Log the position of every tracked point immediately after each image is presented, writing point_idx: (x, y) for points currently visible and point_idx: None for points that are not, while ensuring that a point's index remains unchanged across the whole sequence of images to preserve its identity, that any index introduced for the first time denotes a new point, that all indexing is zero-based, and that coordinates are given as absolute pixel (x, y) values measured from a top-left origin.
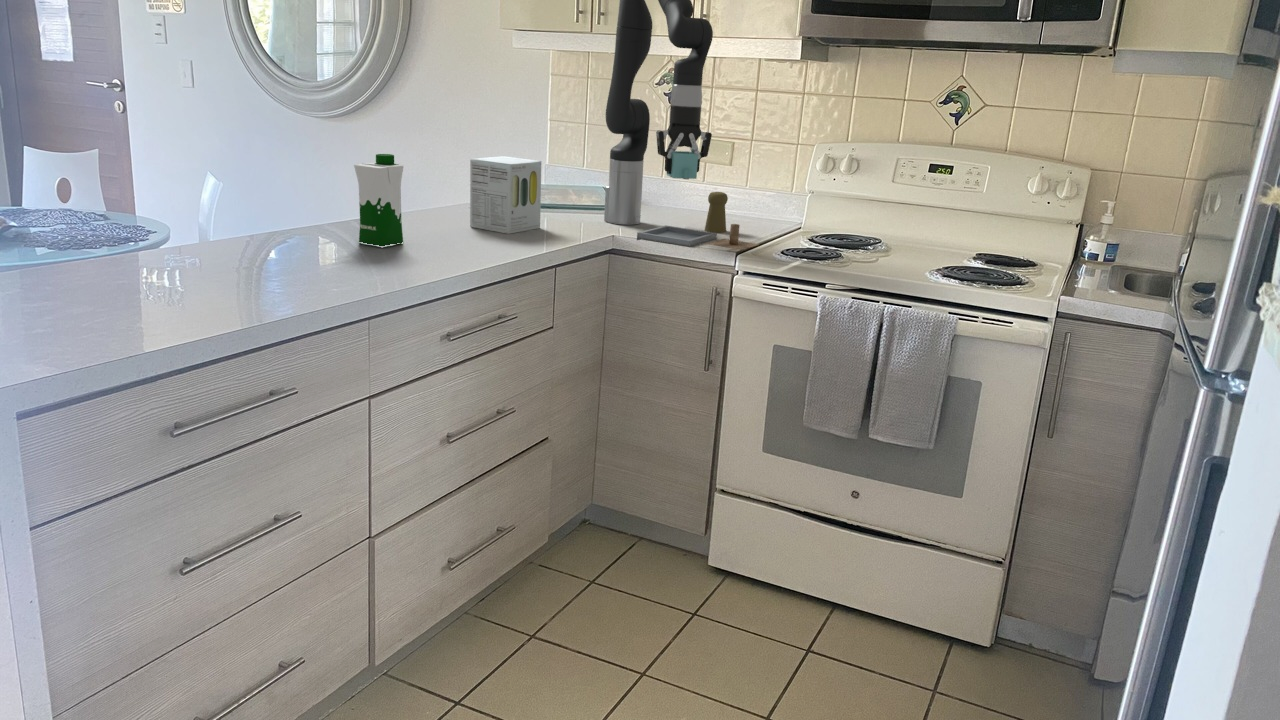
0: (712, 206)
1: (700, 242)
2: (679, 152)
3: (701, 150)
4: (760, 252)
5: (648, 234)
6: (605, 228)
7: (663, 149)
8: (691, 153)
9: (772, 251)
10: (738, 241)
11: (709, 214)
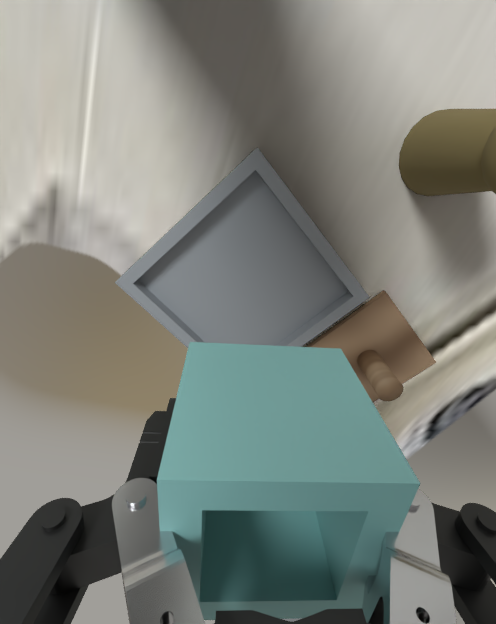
0: (476, 170)
1: None
2: (272, 503)
3: (483, 567)
4: (390, 412)
5: (146, 310)
6: (30, 22)
7: (57, 622)
8: (344, 570)
9: (425, 404)
10: (402, 329)
11: (447, 160)
